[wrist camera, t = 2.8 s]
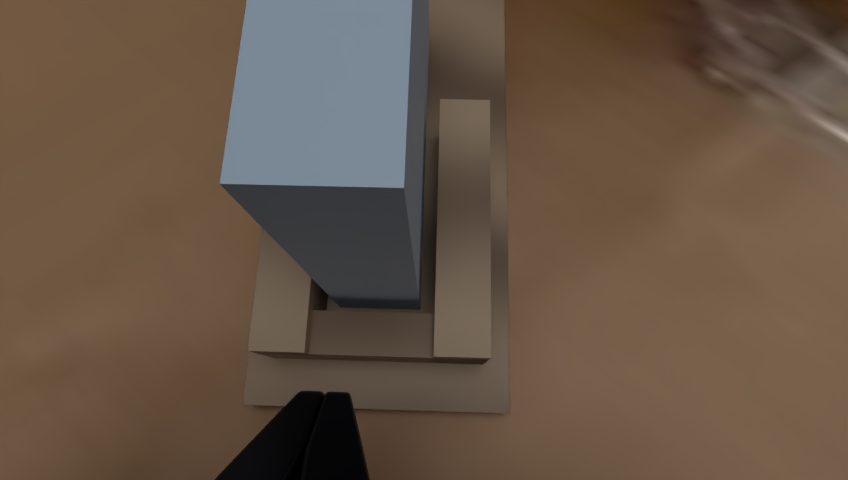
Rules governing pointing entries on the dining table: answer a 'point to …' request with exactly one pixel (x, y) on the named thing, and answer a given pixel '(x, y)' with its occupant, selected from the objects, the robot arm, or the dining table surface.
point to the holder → (441, 260)
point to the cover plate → (335, 141)
